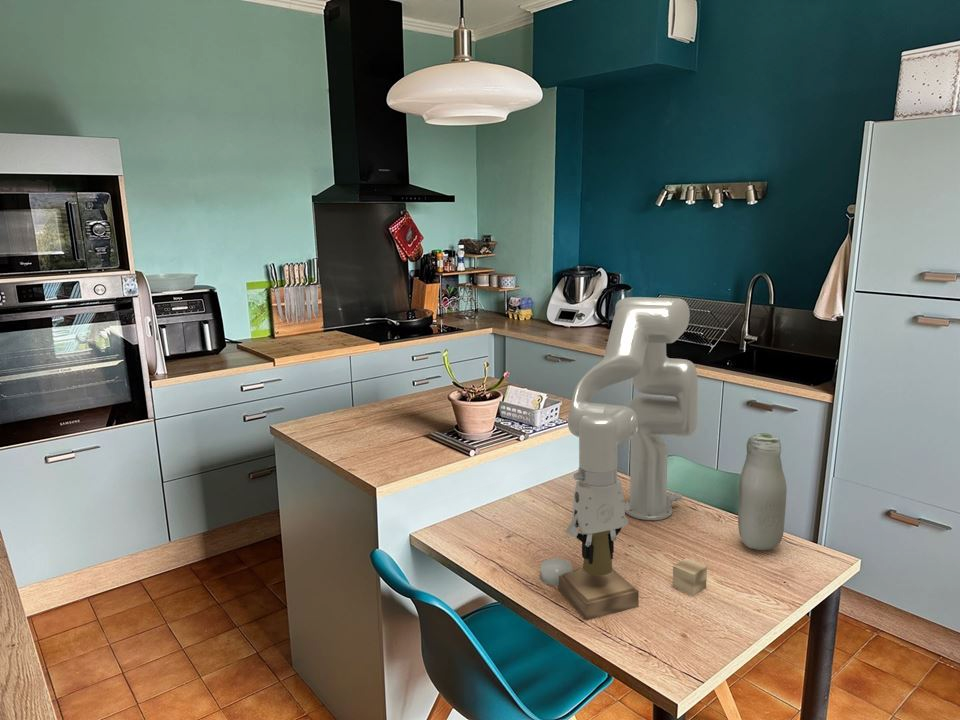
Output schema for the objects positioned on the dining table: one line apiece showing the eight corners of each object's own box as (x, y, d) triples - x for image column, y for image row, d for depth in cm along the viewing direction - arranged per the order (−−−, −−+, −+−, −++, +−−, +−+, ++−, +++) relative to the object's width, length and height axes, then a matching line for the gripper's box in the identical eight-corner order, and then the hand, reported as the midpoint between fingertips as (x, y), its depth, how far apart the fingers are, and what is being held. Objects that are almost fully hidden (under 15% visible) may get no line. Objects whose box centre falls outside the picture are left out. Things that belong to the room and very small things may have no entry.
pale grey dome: (563, 567, 157) (563, 555, 156) (578, 582, 150) (578, 570, 150) (535, 574, 154) (535, 562, 154) (549, 589, 148) (549, 576, 147)
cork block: (685, 578, 150) (686, 557, 149) (706, 587, 146) (707, 566, 145) (672, 587, 147) (673, 566, 146) (693, 596, 143) (693, 574, 142)
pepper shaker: (578, 570, 141) (578, 521, 139) (589, 558, 146) (589, 510, 144) (606, 578, 138) (606, 527, 136) (616, 565, 143) (617, 515, 141)
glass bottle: (766, 535, 168) (772, 426, 163) (790, 555, 159) (798, 439, 153) (728, 539, 167) (733, 429, 161) (750, 559, 157) (756, 443, 151)
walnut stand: (607, 578, 151) (607, 561, 150) (638, 606, 140) (638, 588, 139) (558, 590, 147) (558, 573, 146) (586, 620, 136) (586, 601, 135)
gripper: (569, 488, 132) (570, 575, 135) (644, 474, 137) (642, 558, 141) (552, 475, 139) (553, 558, 142) (623, 462, 144) (622, 543, 148)
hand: (597, 557), depth 142 cm, fingers closed on pepper shaker, 3 cm apart
